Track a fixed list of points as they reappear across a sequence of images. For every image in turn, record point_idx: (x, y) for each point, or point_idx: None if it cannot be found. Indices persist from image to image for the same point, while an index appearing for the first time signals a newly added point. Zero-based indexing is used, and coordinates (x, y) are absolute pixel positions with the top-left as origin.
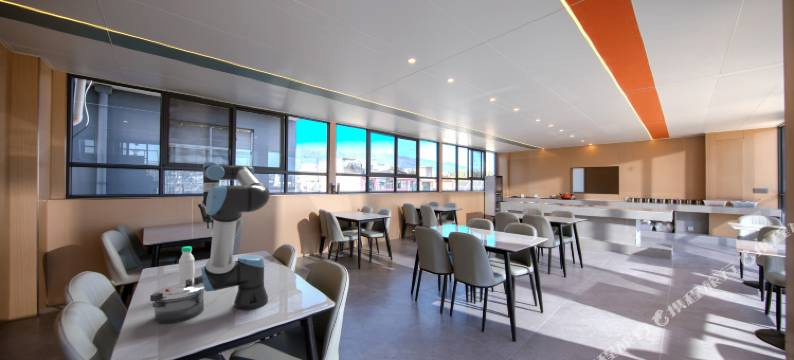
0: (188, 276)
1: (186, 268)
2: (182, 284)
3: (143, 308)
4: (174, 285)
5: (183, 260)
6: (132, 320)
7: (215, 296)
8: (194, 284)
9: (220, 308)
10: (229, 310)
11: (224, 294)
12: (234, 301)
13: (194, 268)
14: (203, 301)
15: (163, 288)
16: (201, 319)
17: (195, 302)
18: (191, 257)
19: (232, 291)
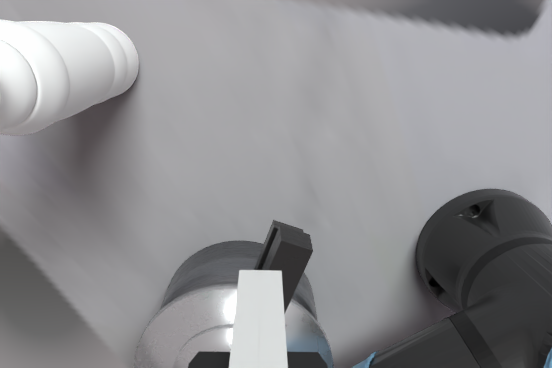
0: (97, 101)
1: (65, 117)
2: (210, 333)
3: (49, 236)
4: (166, 320)
5: (13, 135)
6: (100, 329)
7: (291, 146)
8: None
9: (369, 277)
10: (410, 298)
11: (325, 126)
12: (426, 280)
13: (89, 54)
14: (313, 303)
15: (142, 351)
16: (339, 350)
17: None
18: (43, 95)
19: (350, 88)
